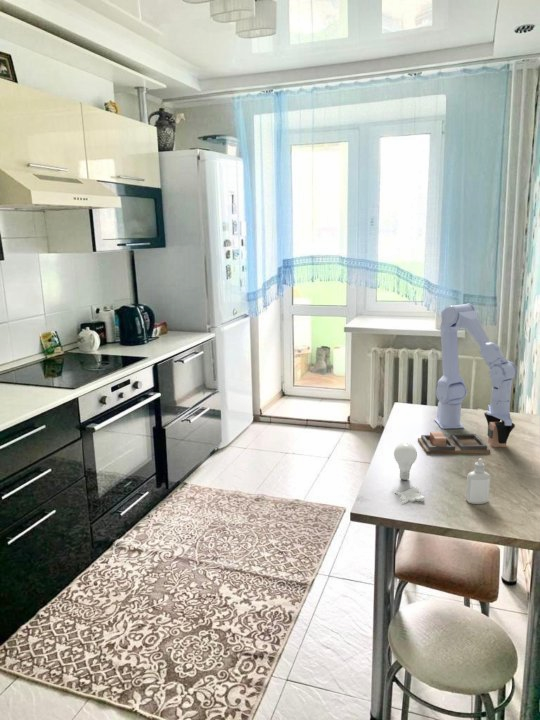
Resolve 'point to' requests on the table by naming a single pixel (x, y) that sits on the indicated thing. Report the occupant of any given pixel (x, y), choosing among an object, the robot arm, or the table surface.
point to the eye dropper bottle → (478, 484)
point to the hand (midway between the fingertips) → (497, 438)
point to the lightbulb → (405, 458)
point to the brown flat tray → (452, 444)
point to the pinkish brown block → (493, 435)
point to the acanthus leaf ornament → (410, 495)
